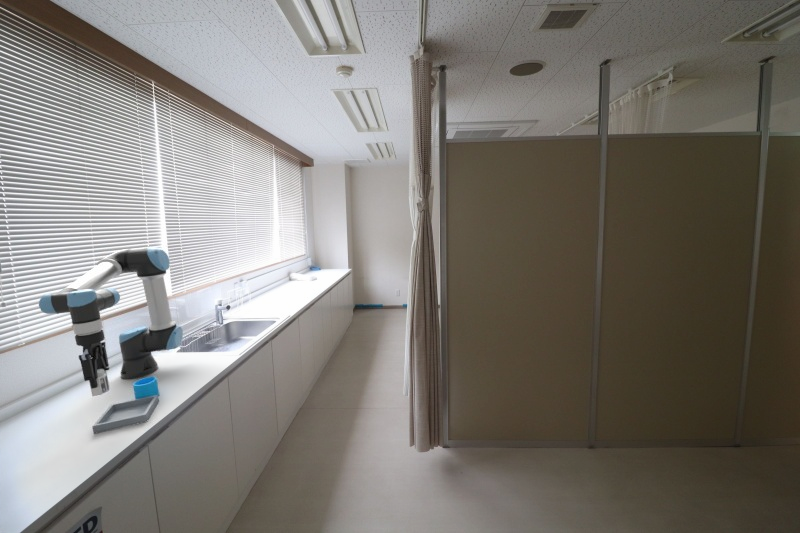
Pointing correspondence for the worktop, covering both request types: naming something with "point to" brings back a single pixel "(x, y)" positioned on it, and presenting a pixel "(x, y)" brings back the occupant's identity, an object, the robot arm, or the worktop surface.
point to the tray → (126, 414)
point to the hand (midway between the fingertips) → (101, 391)
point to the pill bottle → (103, 380)
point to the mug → (146, 387)
